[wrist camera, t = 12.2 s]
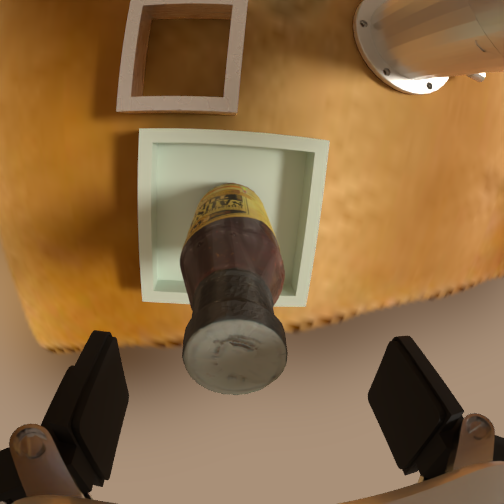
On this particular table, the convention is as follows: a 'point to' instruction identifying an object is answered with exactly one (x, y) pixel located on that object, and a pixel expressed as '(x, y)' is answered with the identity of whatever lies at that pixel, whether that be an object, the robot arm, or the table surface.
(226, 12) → the box
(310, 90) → the table surface
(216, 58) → the table surface
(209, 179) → the tray
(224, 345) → the sauce bottle
